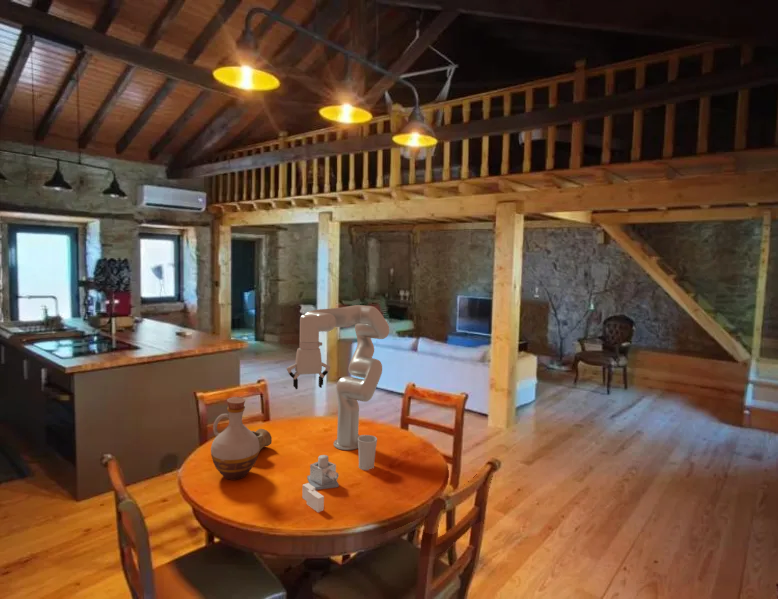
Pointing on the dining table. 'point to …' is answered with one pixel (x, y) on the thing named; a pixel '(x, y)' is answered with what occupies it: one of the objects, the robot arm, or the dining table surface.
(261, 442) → the pipe
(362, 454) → the cup
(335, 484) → the flange
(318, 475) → the collar
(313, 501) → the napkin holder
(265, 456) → the dining table surface
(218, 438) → the jug
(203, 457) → the dining table surface
